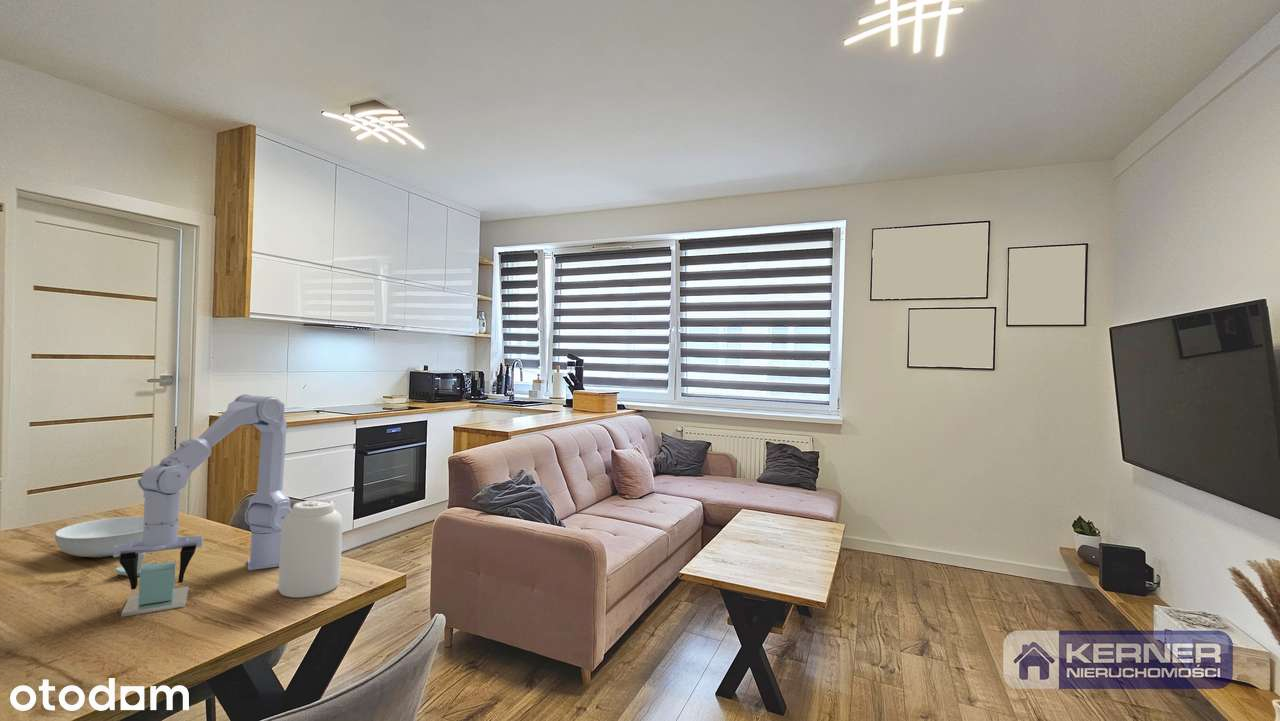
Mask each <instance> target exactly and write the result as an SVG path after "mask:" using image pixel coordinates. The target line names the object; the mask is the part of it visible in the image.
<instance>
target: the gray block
mask: <svg viewBox="0 0 1280 721" xmlns="http://www.w3.org/2000/svg"><path fill="white" fill-rule="evenodd" d="M189 592H190V587H189V586H183V587H182V586H181V587H175V589H174V594H173V598H172V600H169V601H162V602H156V603H150V604H143V605H138V603H139V593H136V594H135V593H134V594H130V595H129V597H128V599H127V601H126V603H125V605H124V607H123V609H122V611H121V614H120V615H121V618H122V617H128V616H129V617H130V616H136V615H141V614H142V615H143V614H149V613H155V612H160V611H166V610H172V609H178V608H184V607H186V606H185V605H186V602H187V597H188V595H189Z"/></svg>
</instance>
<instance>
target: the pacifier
mask: <svg viewBox="0 0 1280 721" xmlns="http://www.w3.org/2000/svg"><path fill="white" fill-rule="evenodd" d="M145 558H146V553H139V554H138V564H137V577H138V576H139V577H140V572H141V570H142V568H143V566H144V565H151V564H158V562H157V561H154V562H150V563H145V564H143V562H144V559H145ZM115 570H116V572H117V573H118V575H119V576H125V577H127V578H128V575H127V573H126V571H125V570H124V568H123V567H122V566H119V567H116V568H115Z"/></svg>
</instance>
